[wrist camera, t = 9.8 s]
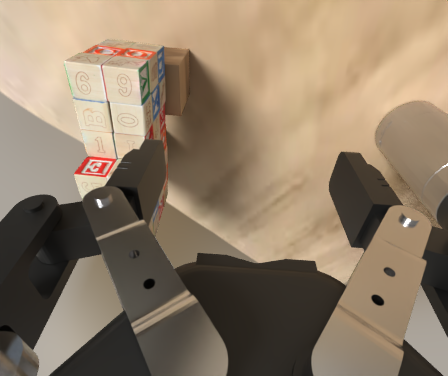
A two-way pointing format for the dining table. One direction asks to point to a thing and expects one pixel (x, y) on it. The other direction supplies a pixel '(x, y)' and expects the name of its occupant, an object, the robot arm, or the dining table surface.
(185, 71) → the brown wooden block
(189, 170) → the dining table surface
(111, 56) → the stack of blocks
